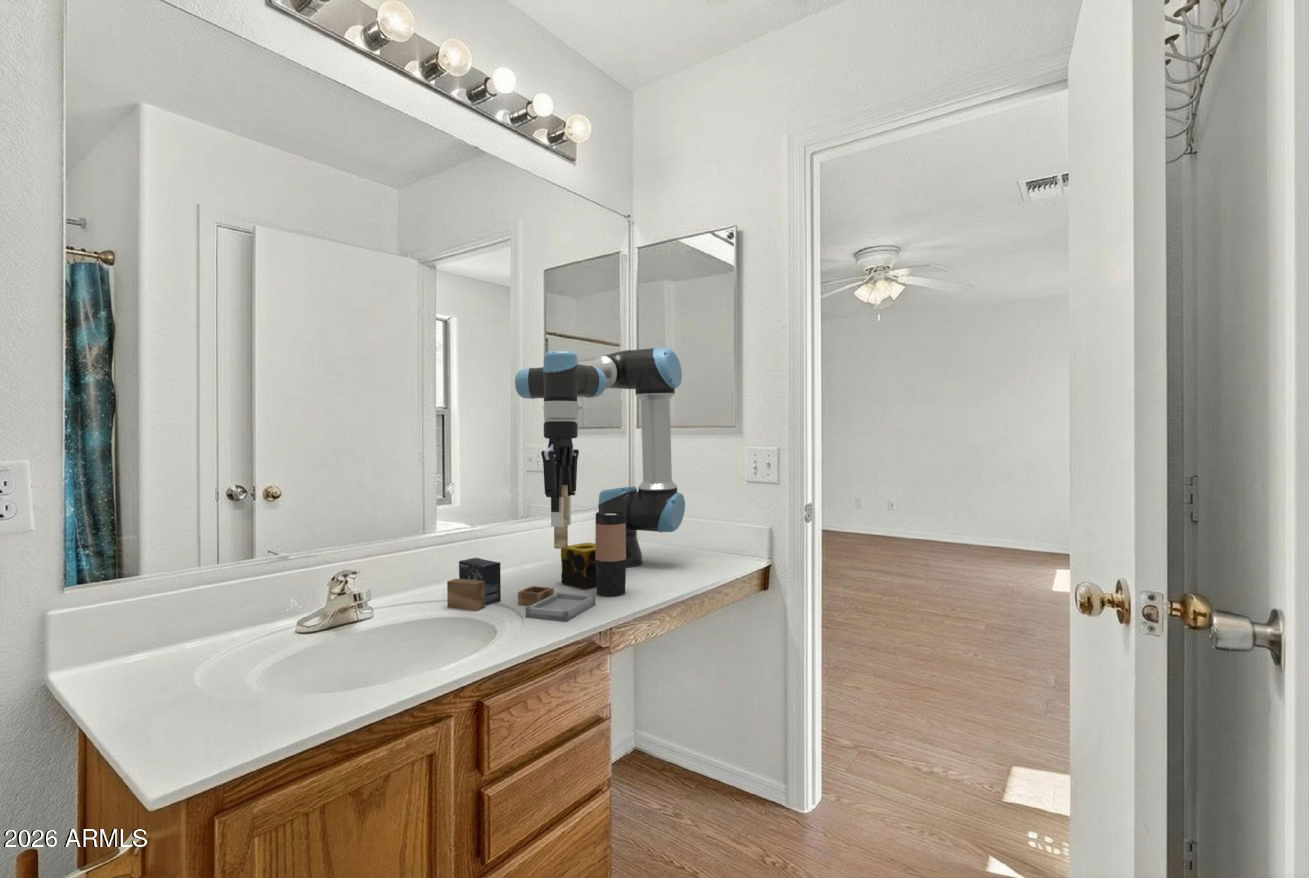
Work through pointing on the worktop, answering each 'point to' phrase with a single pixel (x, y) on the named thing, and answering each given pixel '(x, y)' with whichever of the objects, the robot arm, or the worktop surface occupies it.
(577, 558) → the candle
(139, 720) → the worktop surface
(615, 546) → the travel mug
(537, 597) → the socket
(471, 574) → the box
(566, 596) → the tray
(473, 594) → the wooden block
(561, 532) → the dowel
